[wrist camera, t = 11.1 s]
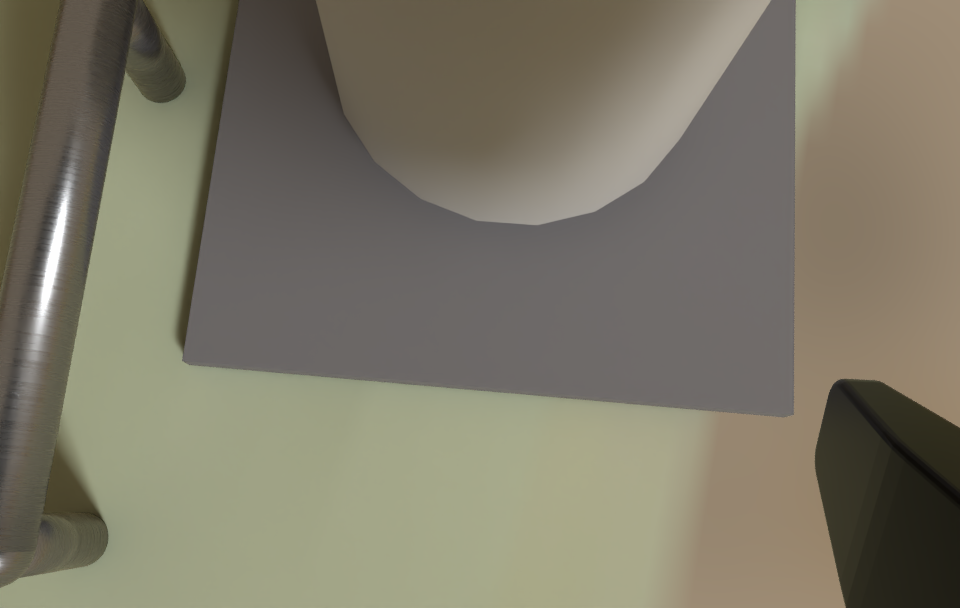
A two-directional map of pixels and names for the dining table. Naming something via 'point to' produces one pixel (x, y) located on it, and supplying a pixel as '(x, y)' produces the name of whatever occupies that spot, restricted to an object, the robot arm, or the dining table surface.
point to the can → (527, 94)
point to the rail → (62, 264)
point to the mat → (499, 249)
